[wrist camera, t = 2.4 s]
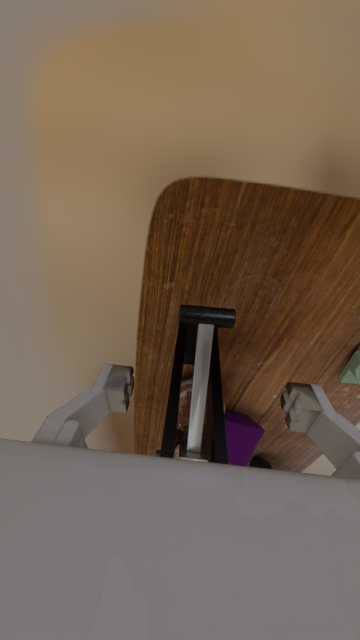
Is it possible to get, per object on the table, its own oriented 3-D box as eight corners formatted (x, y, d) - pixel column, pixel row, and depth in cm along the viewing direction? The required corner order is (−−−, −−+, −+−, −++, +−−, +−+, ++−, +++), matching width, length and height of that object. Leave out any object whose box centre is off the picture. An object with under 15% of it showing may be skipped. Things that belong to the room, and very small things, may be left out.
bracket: (176, 311, 29) (149, 460, 15) (222, 315, 29) (242, 471, 15) (173, 356, 34) (151, 504, 19) (214, 360, 34) (222, 512, 19)
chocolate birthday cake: (207, 408, 40) (209, 516, 28) (163, 395, 39) (145, 501, 27) (232, 374, 35) (247, 489, 23) (182, 358, 34) (170, 470, 22)
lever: (181, 303, 18) (179, 305, 16) (232, 308, 18) (238, 310, 16) (167, 465, 20) (164, 489, 18) (213, 470, 20) (216, 495, 17)
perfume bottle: (241, 433, 44) (261, 570, 29) (205, 424, 43) (206, 560, 29) (261, 412, 40) (295, 560, 25) (221, 401, 39) (232, 547, 24)
